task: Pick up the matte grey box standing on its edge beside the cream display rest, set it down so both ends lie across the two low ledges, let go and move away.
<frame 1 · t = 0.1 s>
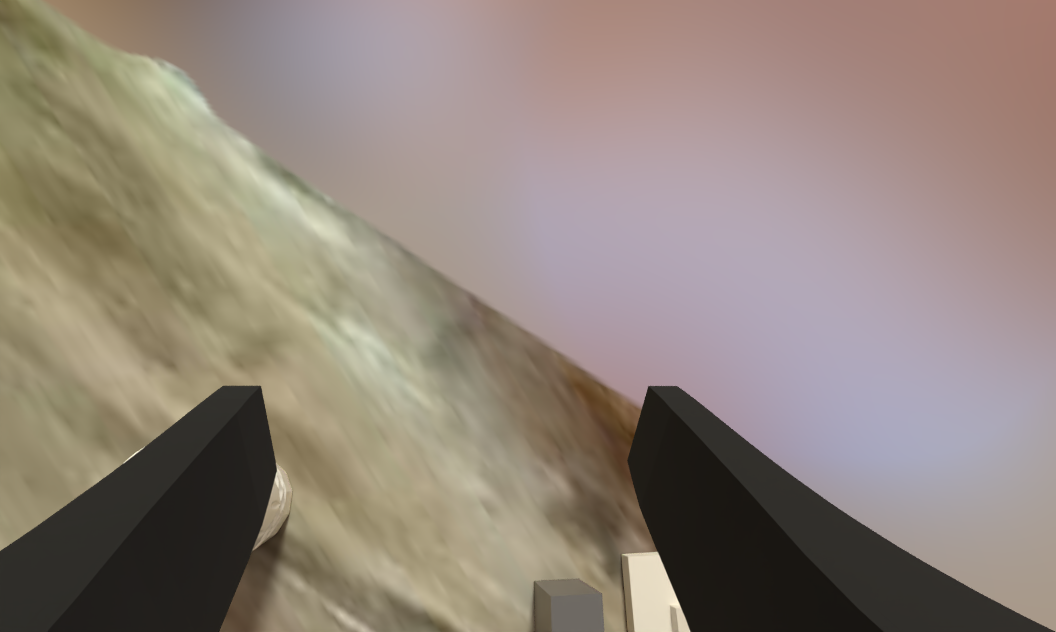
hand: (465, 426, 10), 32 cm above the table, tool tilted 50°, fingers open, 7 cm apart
white cup: (244, 502, 36), on the table
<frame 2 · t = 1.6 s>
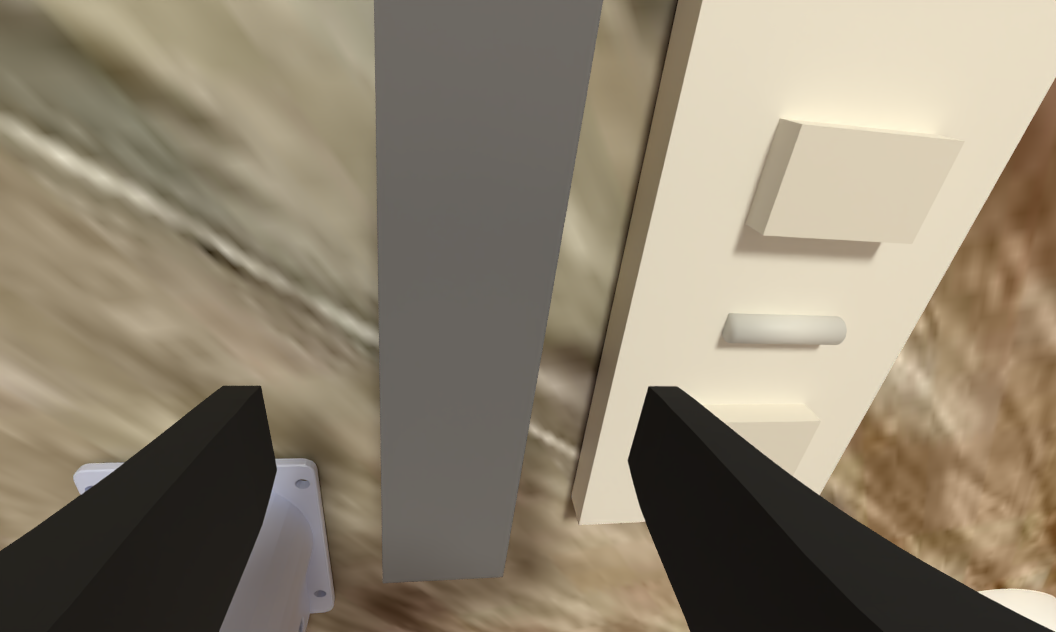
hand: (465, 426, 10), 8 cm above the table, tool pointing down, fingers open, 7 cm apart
matte grey box: (456, 264, 16), on the table
display rest: (755, 304, 18), on the table
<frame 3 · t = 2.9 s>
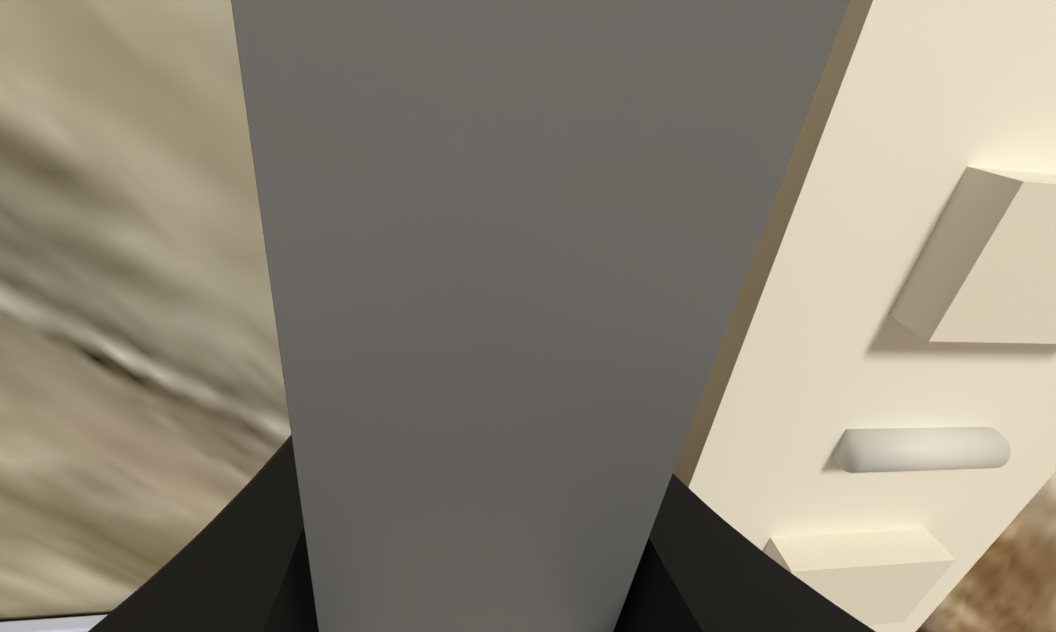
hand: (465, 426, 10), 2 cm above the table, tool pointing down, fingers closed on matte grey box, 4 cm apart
matte grey box: (462, 366, 11), on the table, touching gripper
display rest: (866, 401, 14), on the table
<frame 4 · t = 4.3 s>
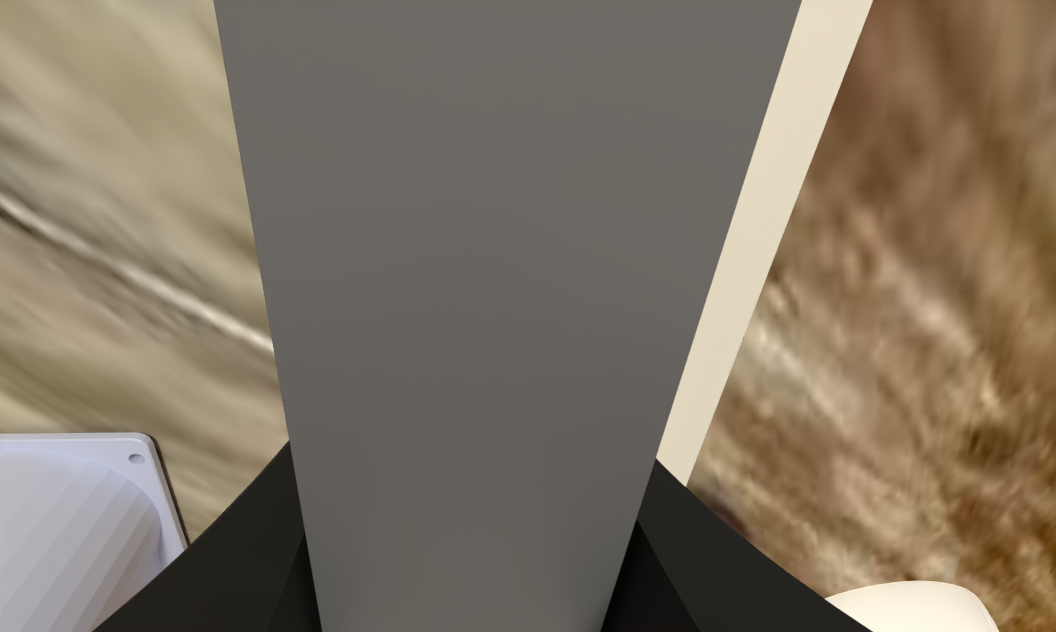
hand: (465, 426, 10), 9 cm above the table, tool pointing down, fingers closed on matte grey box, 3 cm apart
matte grey box: (460, 357, 11), point 6 cm above the table, touching gripper
display rest: (598, 277, 18), on the table
when the fingers open (5 cm above the table, at t = 5.7 s): matte grey box stays where it is, resting on display rest.
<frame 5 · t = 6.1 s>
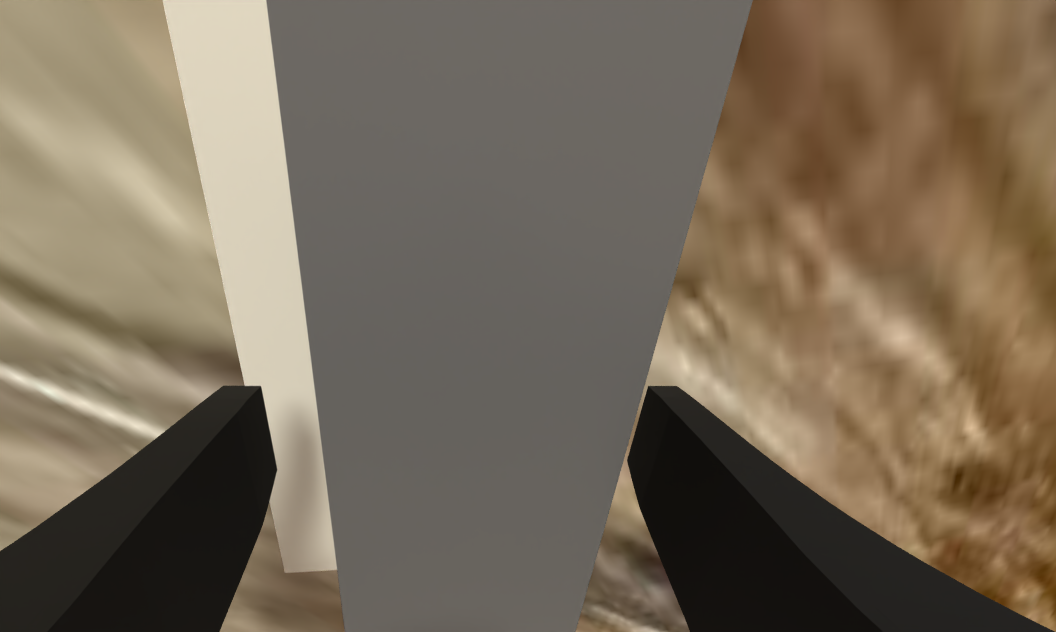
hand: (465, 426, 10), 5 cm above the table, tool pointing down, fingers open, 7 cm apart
matte grey box: (461, 340, 12), point 2 cm above the table, touching display rest
display rest: (459, 296, 14), on the table
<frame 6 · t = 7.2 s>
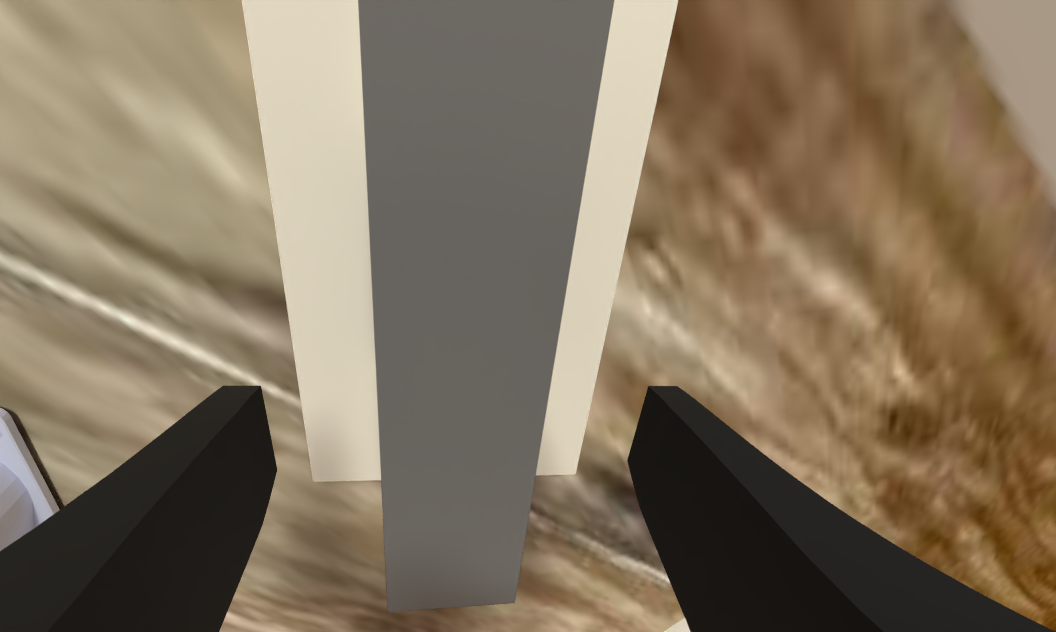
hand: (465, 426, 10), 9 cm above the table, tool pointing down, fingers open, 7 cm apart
matte grey box: (460, 271, 15), point 2 cm above the table, touching display rest
display rest: (458, 244, 18), on the table
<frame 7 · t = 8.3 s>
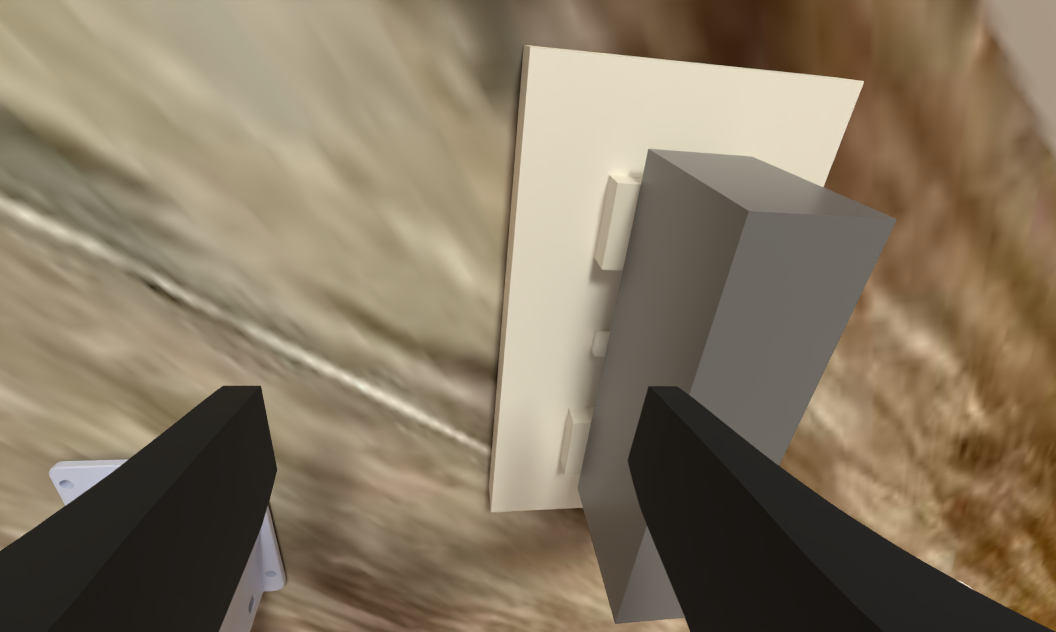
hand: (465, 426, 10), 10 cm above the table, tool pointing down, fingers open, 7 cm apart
matte grey box: (649, 351, 19), point 2 cm above the table, touching display rest
display rest: (629, 320, 21), on the table
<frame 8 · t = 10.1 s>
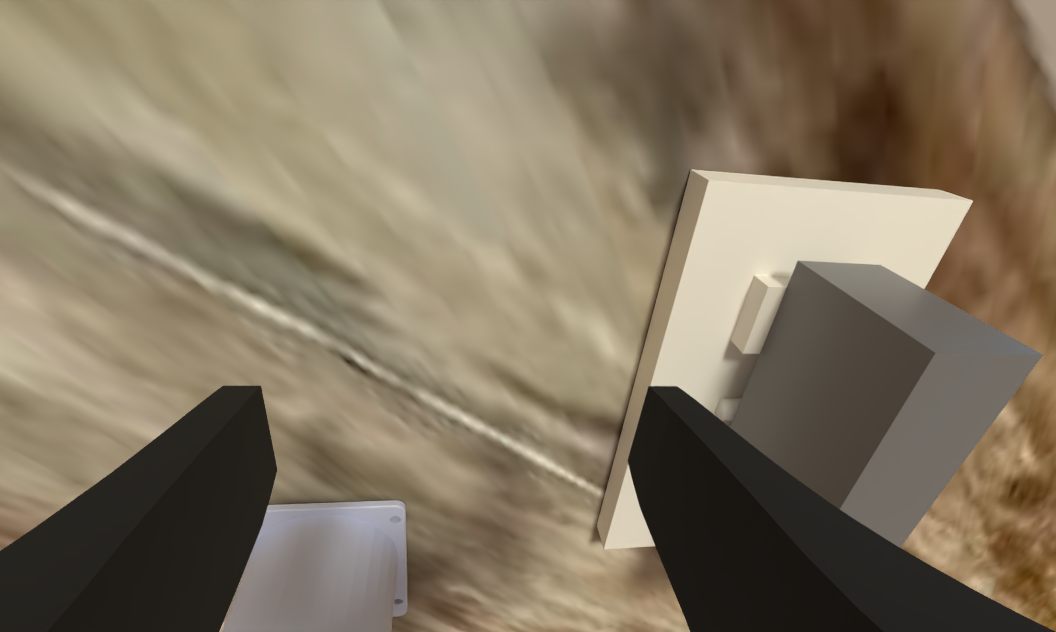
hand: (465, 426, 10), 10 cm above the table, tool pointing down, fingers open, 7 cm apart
matte grey box: (769, 417, 22), point 2 cm above the table, touching display rest
display rest: (740, 384, 24), on the table
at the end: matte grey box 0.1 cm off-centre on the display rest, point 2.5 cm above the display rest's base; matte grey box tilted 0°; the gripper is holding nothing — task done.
